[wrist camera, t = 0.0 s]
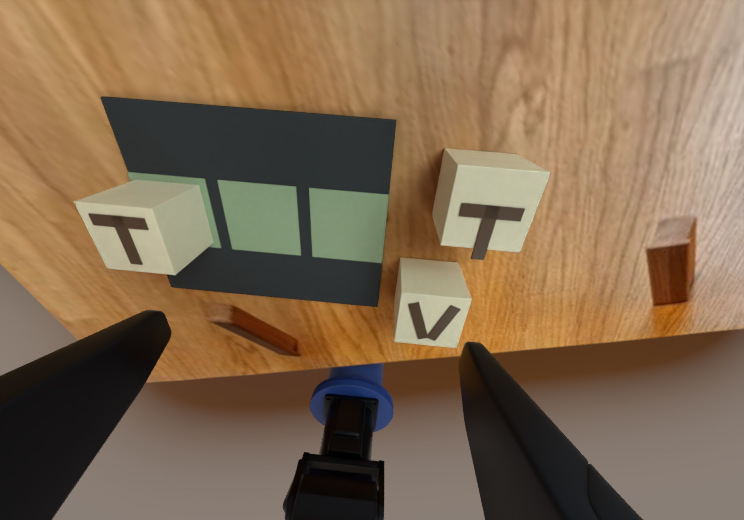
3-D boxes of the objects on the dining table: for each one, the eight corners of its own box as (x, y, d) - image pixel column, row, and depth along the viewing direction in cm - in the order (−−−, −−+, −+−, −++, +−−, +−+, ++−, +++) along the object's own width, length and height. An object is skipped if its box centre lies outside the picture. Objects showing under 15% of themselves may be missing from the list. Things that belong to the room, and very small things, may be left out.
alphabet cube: (213, 242, 24) (174, 276, 20) (157, 237, 25) (105, 269, 20) (199, 184, 22) (150, 209, 17) (135, 179, 22) (71, 202, 18)
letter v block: (446, 307, 27) (456, 349, 23) (394, 302, 27) (393, 343, 23) (458, 262, 24) (472, 300, 20) (400, 256, 24) (401, 293, 20)
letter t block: (493, 229, 23) (516, 262, 18) (430, 223, 23) (438, 255, 18) (517, 153, 20) (552, 172, 15) (444, 147, 20) (458, 164, 15)
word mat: (377, 304, 27) (377, 307, 27) (174, 284, 28) (170, 287, 27) (396, 119, 19) (396, 120, 19) (104, 96, 20) (98, 96, 19)
